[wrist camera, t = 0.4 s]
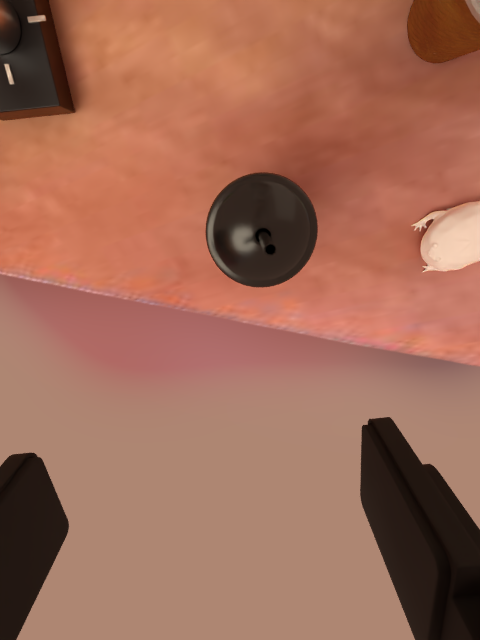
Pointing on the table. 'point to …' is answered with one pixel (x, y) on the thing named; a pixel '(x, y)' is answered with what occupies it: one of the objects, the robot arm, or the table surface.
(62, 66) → the black dial panel
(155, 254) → the table surface
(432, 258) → the frog figurine
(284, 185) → the drinking cup
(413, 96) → the table surface
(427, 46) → the disposable coffee cup
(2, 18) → the control knob
